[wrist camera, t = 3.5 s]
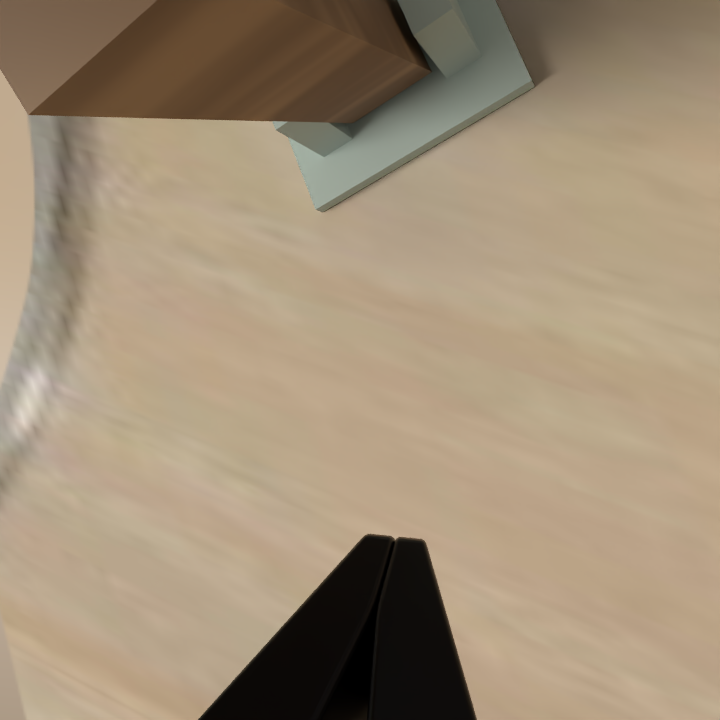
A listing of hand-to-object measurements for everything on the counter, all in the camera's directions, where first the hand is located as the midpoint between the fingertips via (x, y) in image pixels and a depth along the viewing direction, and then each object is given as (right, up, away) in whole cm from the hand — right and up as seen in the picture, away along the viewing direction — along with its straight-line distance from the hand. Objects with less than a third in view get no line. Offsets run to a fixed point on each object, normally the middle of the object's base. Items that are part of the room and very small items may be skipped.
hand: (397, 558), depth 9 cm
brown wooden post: (0, +12, +11) cm, 16 cm away
